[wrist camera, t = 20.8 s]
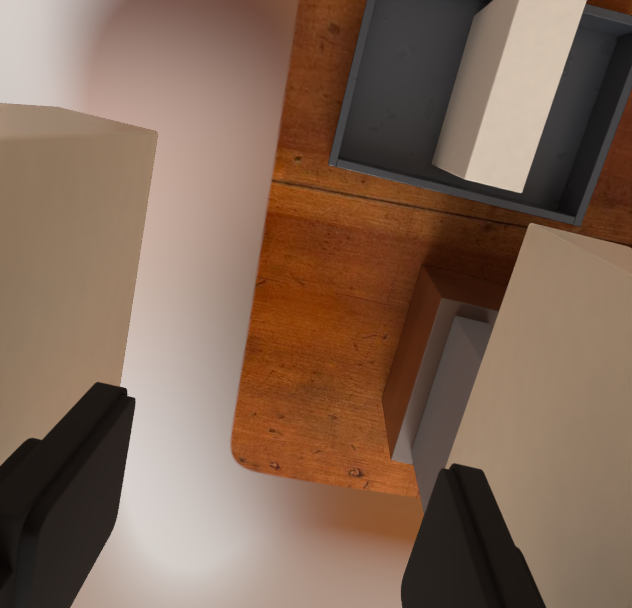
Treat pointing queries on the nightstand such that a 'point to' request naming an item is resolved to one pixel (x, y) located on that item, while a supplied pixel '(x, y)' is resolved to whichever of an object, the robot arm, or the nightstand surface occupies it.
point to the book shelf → (430, 346)
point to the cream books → (485, 399)
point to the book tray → (435, 92)
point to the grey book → (448, 400)
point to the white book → (506, 89)
